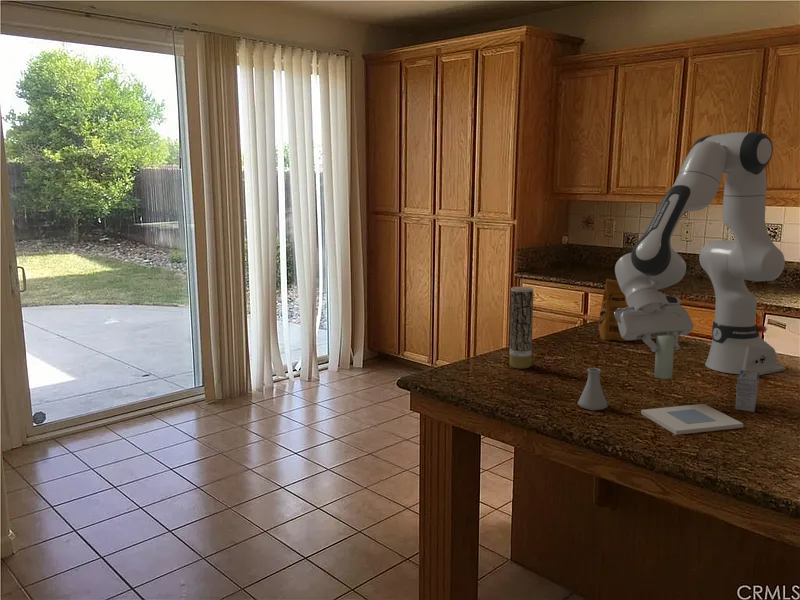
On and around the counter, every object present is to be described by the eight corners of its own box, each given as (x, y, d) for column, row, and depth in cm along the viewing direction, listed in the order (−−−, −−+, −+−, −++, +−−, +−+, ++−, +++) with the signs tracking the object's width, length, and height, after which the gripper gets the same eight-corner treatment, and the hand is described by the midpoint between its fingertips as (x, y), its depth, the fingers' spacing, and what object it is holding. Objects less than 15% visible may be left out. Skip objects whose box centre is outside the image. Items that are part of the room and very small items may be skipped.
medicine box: (754, 412, 164) (757, 379, 162) (734, 409, 166) (737, 377, 164) (756, 403, 170) (759, 371, 168) (737, 400, 172) (740, 369, 171)
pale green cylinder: (665, 372, 175) (667, 333, 173) (675, 377, 171) (678, 337, 169) (650, 374, 174) (653, 334, 172) (660, 379, 170) (663, 338, 168)
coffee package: (597, 334, 244) (599, 276, 240) (631, 335, 242) (635, 277, 238) (600, 341, 234) (603, 281, 230) (636, 342, 232) (640, 281, 228)
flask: (592, 413, 165) (593, 375, 163) (572, 404, 171) (573, 367, 169) (613, 408, 168) (615, 371, 166) (592, 399, 174) (594, 363, 172)
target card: (703, 407, 168) (703, 403, 167) (742, 427, 154) (743, 423, 154) (641, 413, 164) (641, 409, 163) (675, 434, 150) (676, 430, 150)
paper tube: (531, 370, 201) (533, 290, 196) (508, 369, 202) (510, 290, 198) (531, 363, 208) (533, 286, 203) (509, 362, 209) (511, 286, 204)
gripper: (616, 302, 173) (635, 347, 166) (684, 297, 178) (706, 340, 170) (607, 315, 178) (625, 359, 171) (673, 310, 183) (693, 352, 175)
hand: (666, 349), depth 171 cm, fingers closed on pale green cylinder, 4 cm apart
